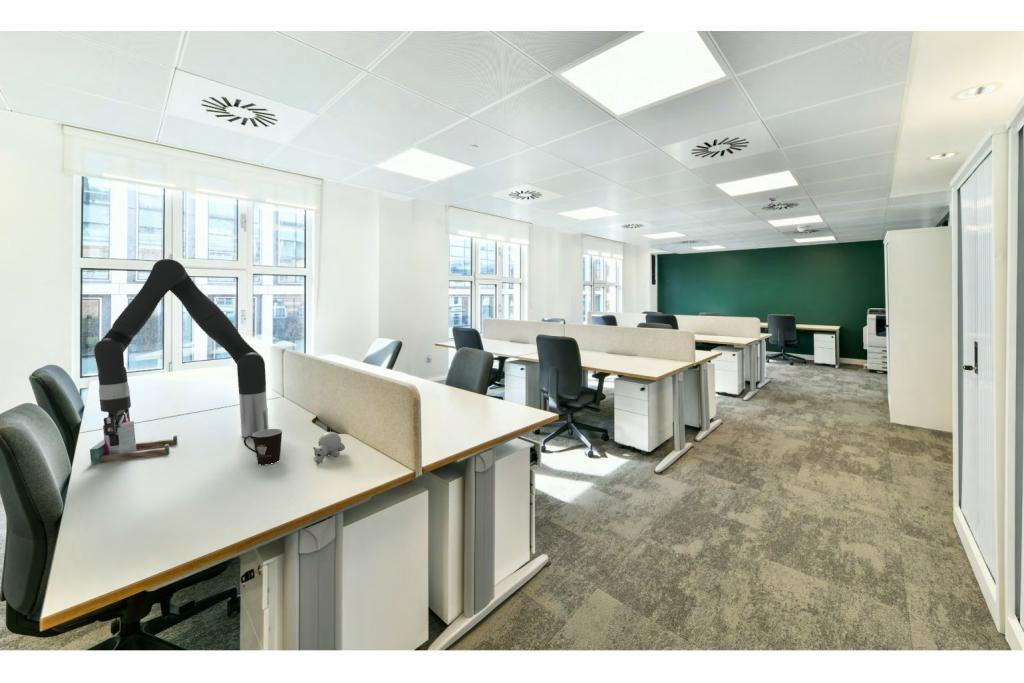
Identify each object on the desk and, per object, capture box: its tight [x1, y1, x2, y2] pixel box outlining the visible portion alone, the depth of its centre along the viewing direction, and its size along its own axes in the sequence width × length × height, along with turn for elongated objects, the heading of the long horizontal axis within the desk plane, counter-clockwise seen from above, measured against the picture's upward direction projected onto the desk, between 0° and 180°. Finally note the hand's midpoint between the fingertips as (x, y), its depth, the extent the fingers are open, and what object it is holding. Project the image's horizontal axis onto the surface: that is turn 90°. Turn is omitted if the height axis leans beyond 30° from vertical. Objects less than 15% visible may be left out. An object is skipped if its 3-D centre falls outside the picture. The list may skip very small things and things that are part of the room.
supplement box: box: [102, 420, 137, 455], centre depth 142 cm, size 6×6×12 cm
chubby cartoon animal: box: [312, 431, 346, 464], centre depth 140 cm, size 7×12×8 cm, turn 162°
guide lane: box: [89, 434, 178, 465], centre depth 144 cm, size 20×12×5 cm, turn 117°
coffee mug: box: [243, 428, 283, 466], centre depth 138 cm, size 12×9×10 cm
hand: (119, 441), depth 142 cm, fingers closed on supplement box, 8 cm apart
